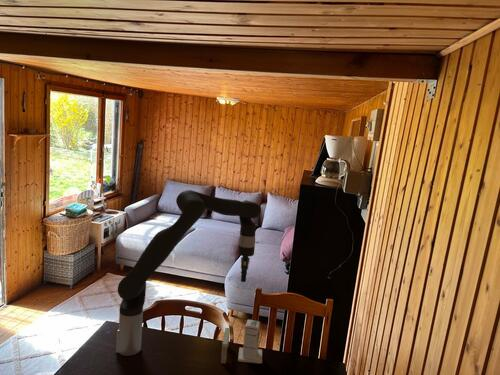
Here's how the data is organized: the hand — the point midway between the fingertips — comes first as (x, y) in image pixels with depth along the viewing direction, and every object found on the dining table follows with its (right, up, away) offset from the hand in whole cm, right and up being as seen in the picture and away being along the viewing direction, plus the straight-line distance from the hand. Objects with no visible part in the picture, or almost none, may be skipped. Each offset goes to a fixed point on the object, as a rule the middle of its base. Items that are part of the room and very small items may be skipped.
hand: (243, 278), depth 165 cm
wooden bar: (-7, -23, -13) cm, 27 cm away
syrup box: (+3, -30, -13) cm, 33 cm away
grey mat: (+3, -30, -13) cm, 33 cm away
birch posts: (-8, -29, -13) cm, 33 cm away
